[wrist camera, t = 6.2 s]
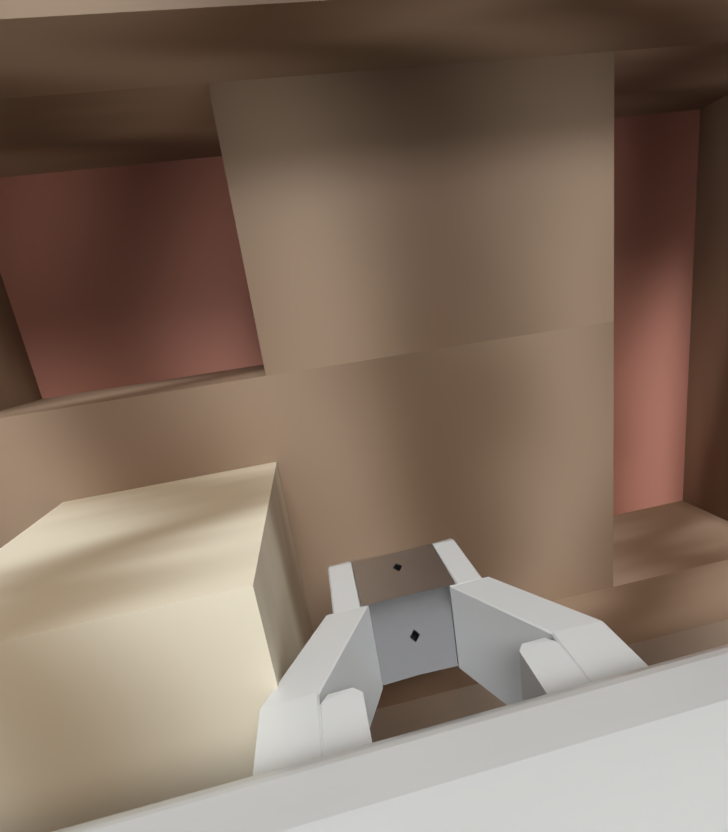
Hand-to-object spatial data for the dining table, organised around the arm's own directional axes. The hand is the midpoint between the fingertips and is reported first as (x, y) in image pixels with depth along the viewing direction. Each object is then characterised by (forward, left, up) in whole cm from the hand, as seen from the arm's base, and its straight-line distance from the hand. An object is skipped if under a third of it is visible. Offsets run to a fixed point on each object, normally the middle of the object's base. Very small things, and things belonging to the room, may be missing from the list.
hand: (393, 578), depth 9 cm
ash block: (+5, 0, -2) cm, 5 cm away
